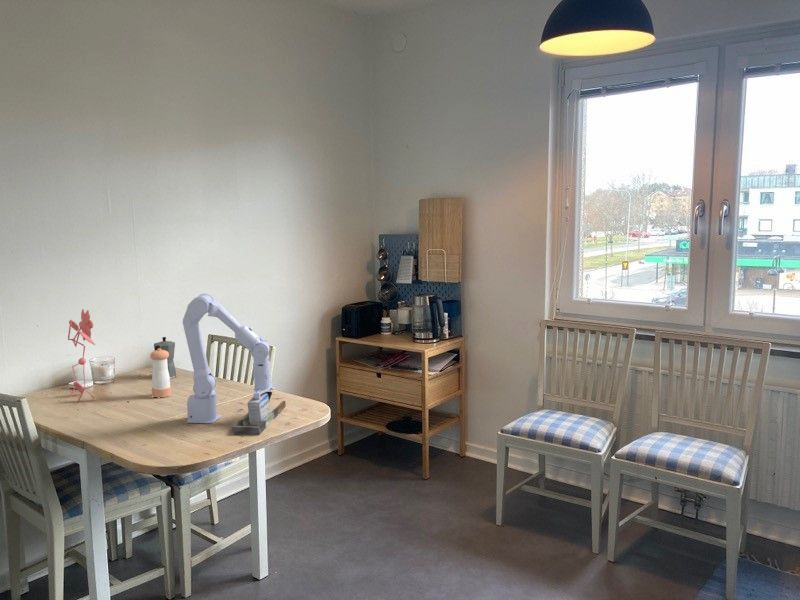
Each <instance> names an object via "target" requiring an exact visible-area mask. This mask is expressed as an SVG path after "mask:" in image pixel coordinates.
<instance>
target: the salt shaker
mask: <svg viewBox="0 0 800 600" xmlns="http://www.w3.org/2000/svg"><path fill="white" fill-rule="evenodd" d="M154 350H155V349H154ZM154 350H153V351H151V353H150V355H149V358H150V359H151V360H152V376H151V377H152V378H151V383H152V384H151V386H152V387H151V397H152V396H153V397H166V396H169V395H171V394H172V386H171V379H170V376H169V372H168V365H167V358H168V357H169V353H168V352H167V351H165V350H161V349H160V348H158V349H157V350H155V351H154ZM171 396H172V395H171ZM153 397H152V398H153ZM169 397H170V396H169ZM166 398H167V397H166Z"/></svg>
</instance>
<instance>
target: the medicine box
mask: <svg viewBox="0 0 800 600" xmlns="http://www.w3.org/2000/svg"><path fill="white" fill-rule="evenodd" d="M247 411H248V412H249V420H250V421H249V426H258V425H259V424H260V423H261V422H262V421H263V420H264V419H265V418H266V417H267V416H268V415H269V414H270V413H271V410H270V401H269V399H268V394H266V393H263V394H261V396H260V399H254V396H253V397H252V398H251V399H249V401H248V402H247ZM248 412H247V413H248Z"/></svg>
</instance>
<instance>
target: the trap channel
mask: <svg viewBox="0 0 800 600" xmlns="http://www.w3.org/2000/svg"><path fill="white" fill-rule="evenodd" d="M285 407H286V400H282V401H281V402H280V403H279V404H278V405H277V406H276V407H275V408H274V409H273V410H272V411H270V414H269V415H268V416H267V417H266V418H265V419H264V420H263V421H262V422H261V423H260V424H259V425H249V426H248V425H247V424H248V423H250V420H249V412H247V413H246V414H245V415H244V416H242V418H240V419H239V420H238V421H237V422H236V423H235V424H234V425H232V435H244V436H245V435H250V436H251V435H253V436H260V435H261V434H262V433H263V432H264V431H265V429H266V428H268V426H270V424H271V423H272V422H273V421H274V420H276V418H277V417H278V416H279V415H280V414H281V413H282V412H283V411H282V410H283V409H284V408H285ZM286 408H287V407H286ZM286 408H285V409H286ZM285 409H284V410H285ZM281 411H282V412H281ZM280 412H281V413H280ZM279 413H280V414H279ZM278 414H279V415H278Z"/></svg>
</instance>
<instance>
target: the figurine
mask: <svg viewBox="0 0 800 600" xmlns="http://www.w3.org/2000/svg"><path fill="white" fill-rule="evenodd" d="M80 313H81V314H80V316H81V317H80V319H81V321H79V322H78V323H77V322H75V321H74V320H72V319H69V320H68V323H69V328H68V335H67V340H68V341H72V342H73V344H74V346H75V348H77V345H78V344H79V345H81V346H83V350H82V351H83V353H82V357H80V358H79V359H78V361H77V362H78V363H76V364H74V365H72V370H73V371H72V372H73V375H74V379H75V381H74V382H73V390H72V391H71V394H70V396H73V394H74V392H75V390H76V391H78V392H79V393H80V394H79V396H78V397H79V398H78V399H77V401H79V402H80V400H81V399H82V396H83V394H84V391H85V392H87V393H88V395H89V396H91V398H93V399H94V400H95V399H96V398H95V397H94V396H93V395H92V394H91V392H89V391H88V390H87V389H86V388H87V386H86V375H85V366H86V365H85V364H86V362H87V360H86V359H85V352H86V351H85V349H86V346H85V344H84V343H82V342H80V341H79V338H80V335H81V337H82V340H83V342H84V341H85V340H86V341H87V342H88V343H90V344H92V345H94V346H96V343H95V342H94V341H93V339H92V330H91V329H92V328H94V323H93V320H92V319H91V320H90V318H91V314H90V310H88V309H87V310H86V311H85V310H84V309H83V308H82V309H81V312H80ZM72 329H73V330H75V331H76V333H75V335H74V337H73V338H70V335H71V330H72ZM78 365H81V366H82V365H83V366H82V367H83V369H82V370H83V371H82V373H83V383H84V384H83V385H84V386H83V385H81V384H80V383H79V382H78V379H77V376H76V372H75V369H74V367H76V366H78Z"/></svg>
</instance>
